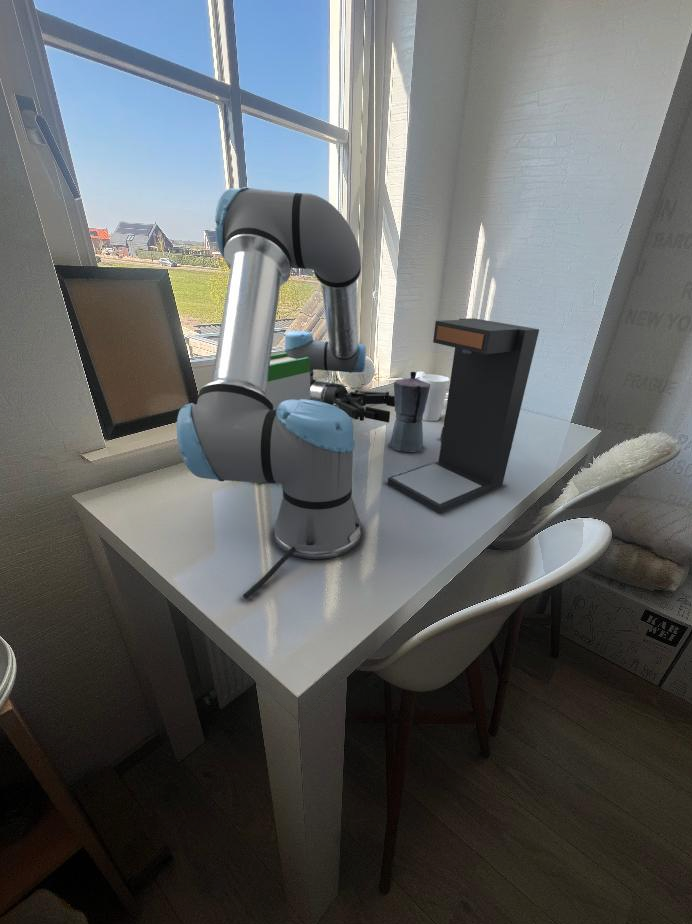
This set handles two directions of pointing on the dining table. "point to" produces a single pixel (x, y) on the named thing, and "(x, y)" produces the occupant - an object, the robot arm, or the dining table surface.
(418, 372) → the sitting furry creature
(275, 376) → the hardback book
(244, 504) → the dining table surface
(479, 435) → the coffee maker
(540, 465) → the dining table surface
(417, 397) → the moka pot
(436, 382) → the foam cup
